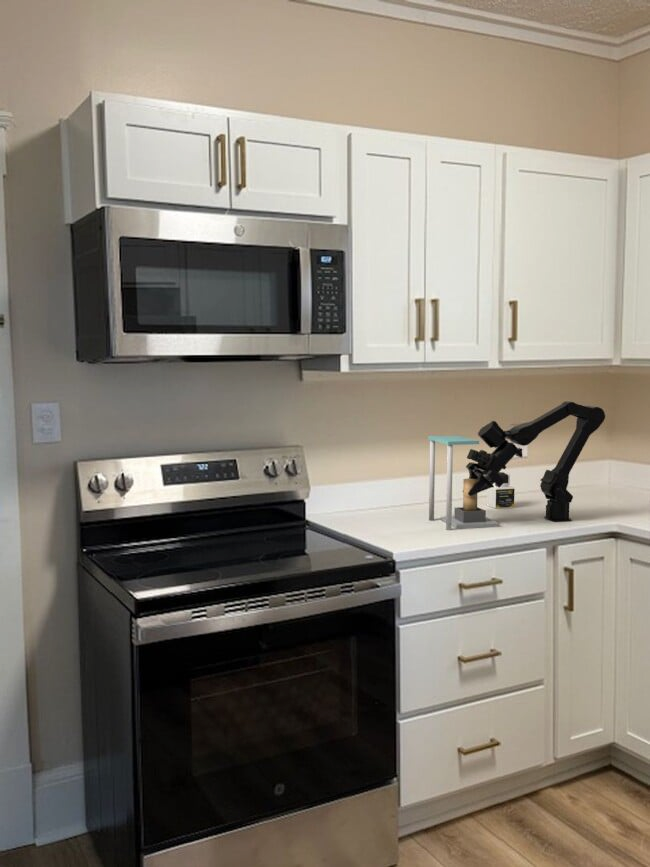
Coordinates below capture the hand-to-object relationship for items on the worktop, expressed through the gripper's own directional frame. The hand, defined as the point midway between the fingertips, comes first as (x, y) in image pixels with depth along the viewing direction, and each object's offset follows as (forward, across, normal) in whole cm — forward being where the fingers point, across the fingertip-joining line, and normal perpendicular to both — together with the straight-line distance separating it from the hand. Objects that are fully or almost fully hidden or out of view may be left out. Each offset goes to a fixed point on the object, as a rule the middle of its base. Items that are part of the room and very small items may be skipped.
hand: (466, 493), depth 273 cm
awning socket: (+7, 0, +6) cm, 9 cm away
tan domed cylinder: (+4, 0, +6) cm, 7 cm away
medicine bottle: (-9, -26, +23) cm, 35 cm away
